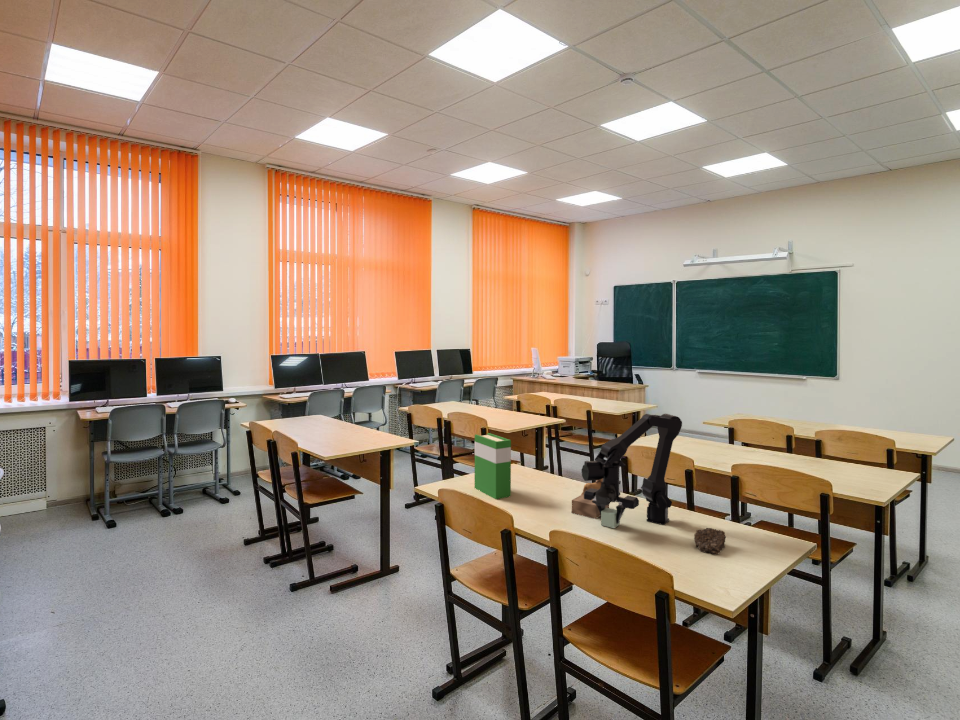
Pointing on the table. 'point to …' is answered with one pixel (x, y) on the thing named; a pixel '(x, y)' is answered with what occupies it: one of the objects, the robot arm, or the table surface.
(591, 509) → the walnut block
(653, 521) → the robot arm
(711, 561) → the table surface
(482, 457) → the hardback book
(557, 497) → the table surface
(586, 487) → the lion figurine
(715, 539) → the brown rock
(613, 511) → the sage cube
